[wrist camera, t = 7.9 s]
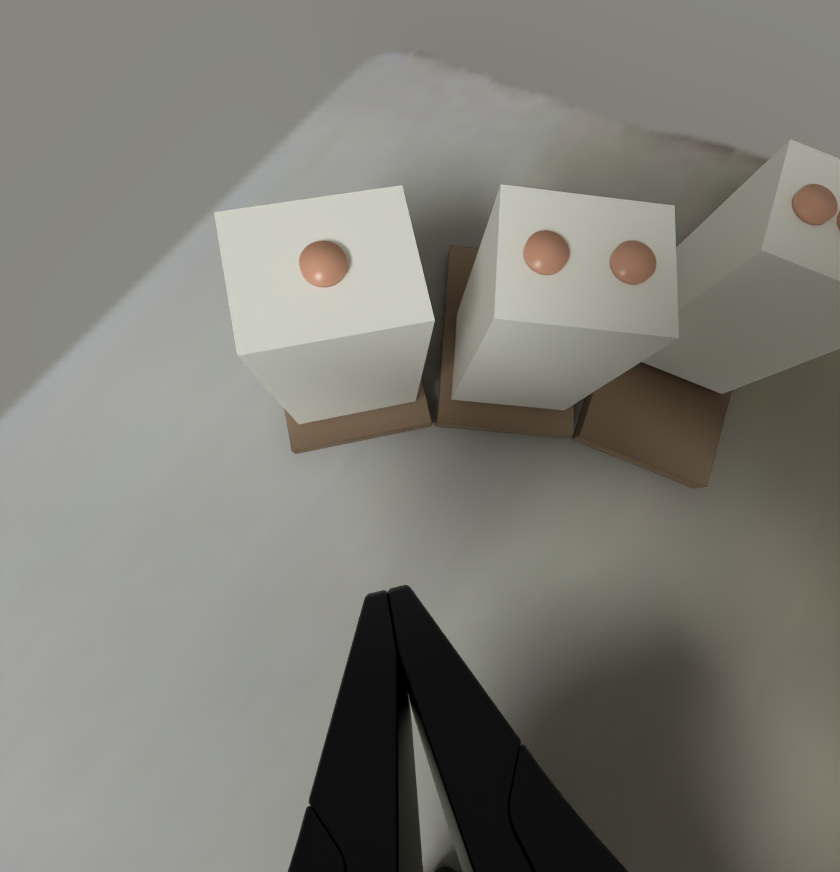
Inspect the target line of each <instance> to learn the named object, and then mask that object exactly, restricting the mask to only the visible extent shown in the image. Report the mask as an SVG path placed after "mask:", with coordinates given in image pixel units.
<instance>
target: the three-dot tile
mask: <svg viewBox="0 0 840 872" xmlns="http://www.w3.org/2000/svg"><path fill="white" fill-rule="evenodd" d="M676 262H677V292H678V321H679V338H678V339H677V340H675V341H674V342H672V343H670V344H669V345H667V346H666V347H664V348H662V349H661V350H659V351H658V352H656V353H655V354H653V355H651V356H650V357H648V358H647V359H645V360H643V361H642V362H643V363H645V364H648V365H650V366H653V367H655V368H658V369H660V370H663V371H665V372H668V373H670V374H673V375H675V376H678V377H680V378H683V379H685V380H688V381H690V382H693V383H695V384H698V385H700V386H703V387H705V388H708V389H710V390H713V391H715V392H718V393H720V394H724V393H726V392H729V391H732V390H734V389H737V388H739V387H742V386H745V385H747V384H750V383H752V382H755V381H758V380H760V379H763V378H765V377H768V376H771V375H773V374H776V373H779V372H781V371H784V370H786V369H789V368H792V367H794V366H797V365H799V364H802V363H805V362H807V361H810V360H812V359H815V358H818V357H820V356H823V355H826V354H828V353H831V352H833V351H836V350H839V349H840V159H839V158H836V157H834V156H831V155H828V154H826V153H824V152H821V151H819V150H816V149H814V148H811V147H809V146H806V145H803V144H801V143H798V142H796V141H793V140H791V139H790V140H789V141H788V142H787V143H786V144H785V145H784V146H782V147H781V148H780V149H779V150H778V151H777V152H776V153H775V154H774V155H773V156H772V157H771V158H770V159H769V160H768V161H767V162H766V163H765V164H764V165H762V166H761V167H760V168H759V169H758V170H757V171H756V172H755V173H754V174H753V175H752V176H751V177H750V178H749V179H748V180H747V181H746V182H745V183H744V184H742V185H741V186H740V187H739V188H738V189H737V190H736V191H735V192H734V193H733V194H732V195H731V196H730V197H729V198H728V199H727V200H726V201H725V202H724V203H722V204H721V205H720V206H719V207H718V208H717V209H716V210H715V211H714V212H713V213H712V214H711V215H710V216H709V217H708V218H707V219H706V220H705V221H704V222H702V223H701V224H700V225H699V226H698V227H697V228H696V229H695V230H694V231H693V232H692V233H691V234H690V235H689V236H688V237H687V238H686V239H685V240H684V241H682V242H681V243H680V244H679V245H678V246H677V247H676Z"/></svg>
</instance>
